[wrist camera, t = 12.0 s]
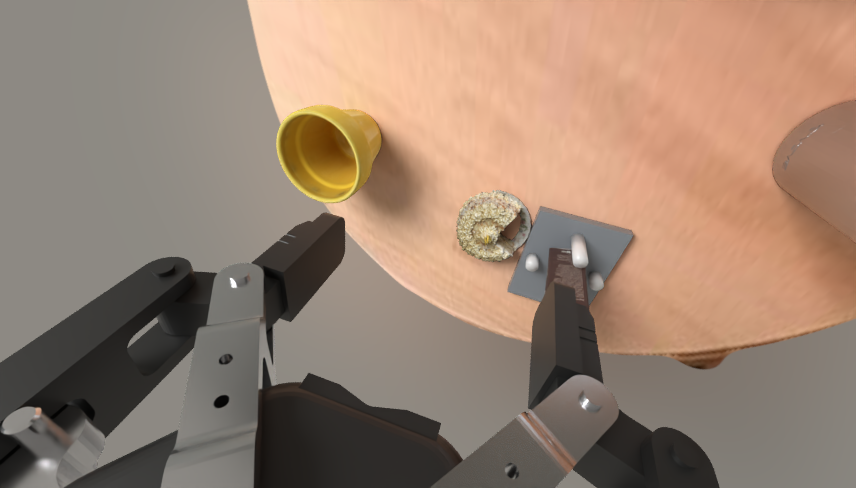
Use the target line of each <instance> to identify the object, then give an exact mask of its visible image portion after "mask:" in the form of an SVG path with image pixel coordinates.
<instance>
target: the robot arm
mask: <svg viewBox="0 0 856 488" xmlns="http://www.w3.org/2000/svg"><path fill="white" fill-rule="evenodd" d="M772 170H773V175H774V178H775V180H776V182H777V183H778V185H779V186H780V187H782V188H783V189H784V190H785V191H786V192H788V193H789V194H790V195H792V196H793V197H795V198H796V199H797V200H799V201H800V202H801V203H803V204H804V205H805V206H806V207H808V208H809V209H810V210H812V211H813V212H814V213H816V214H817V215H818V216H820V217H821V218H822V219H824V220H825V221H826V222H828V223H829V224H830V225H832V226H833V227H834V228H836V229H837V230H839V231H840V232H841V233H843V234H844V235H845V236H847V237H848V238H849V239H851V240H852V241H853V242H855V243H856V100H853V101H848V102H845V103H842V104H838V105H835V106H832V107H830V108H828V109H826V110H823V111H821V112H819V113H817V114H815V115H814V116H812V117H810V118H809V119H807V120H805V121H804V122H803V123H801V124H800V125H799V126H798V127H796V128H795V129H794V130H793V131H792V132H791V133H790V134H789V135H788V136H787V137H786V138H785V139H784V141H783V142H782V144H781V145H780V147H779V148H778V150H777V152H776V154H775V157H774V160H773V168H772ZM344 253H345V220H344V218H342V217H339V216H336V215H332V214H329V213H323V214H321V215H320V216H319V217H318V218H317V219H316V220H314V221H313V222H311V221H307V222H305V223H302V224H299V225H297V226H295V227H294V228H293V229H292V230H290V231H289V232H288V233H287V235H284V236H283V237H282V238H281V239H280V240H279V241H277V242H276V243H275V244H274V245H272V246H271V247H270V248H269V249H268V250H266V251H265V252H264V253H263V254H262V255H260V256H259V257H258V258H257V259H256V260H254V261H253V262H252V263H237V264H233V265H230V266H228V267H226V268H224V269H222V270H221V271H220V272H218V273H209V272H194V271H193V269H192V266H191V264H190V262H189V261H188V260H186V259H184V258H180V257H167V258H161V259H158V260H155V261H152V262H151V263H148V264H147V265H145V266H143V267H142V268H141V269H139V270H138V271H136V272H135V273H133V274H132V275H130V276H128V277H127V278H126V279H124V280H123V281H121V282H120V283H118V284H117V285H115V286H114V287H112V288H111V289H109V290H108V291H106V292H105V293H103V294H102V295H100V296H99V297H97V298H96V299H94V300H93V301H91V302H90V303H88V304H87V305H85V306H84V307H82V308H81V309H79V310H78V311H77V312H75V313H74V314H72V315H71V316H69V317H68V318H66V319H65V320H63V321H62V322H60V323H59V324H57V325H56V326H54V327H53V328H51V329H50V330H48V331H47V332H45V333H44V334H42V335H41V336H40V337H38V338H36V339H35V340H34V341H32V342H30V343H29V344H28V345H26V346H25V347H23V348H22V349H20V350H19V351H17V352H16V353H14V354H13V355H11V356H10V357H8V358H7V359H5V360H4V361H2V362H1V363H0V488H555V487H556V486H557V485H558V484H559V483H560V482H561V481H562V480H563V479H564V477H566V475H567V474H568V473H569V472H570V471H571V470H572V469H573V470H574V471H575V472H577V473H578V474H580V475H581V476H582V477H583V478H585V479H586V480H587V481H589V482H590V483H591V484H593V485H594V486H595V487H597V488H719V484H718V481H717V478H716V475H715V472H714V468H713V466H712V464H711V462H710V460H709V458H708V457H707V455H706V454H705V452H704V451H703V450H702V449H701V448H700V446H698V444H697V443H695V442H694V441H693V440H692V439H691V438H689V437H688V436H687V435H685V434H683V433H682V432H680V431H678V430H675V429H672V428H667V427H661V428H658V429H656V430H655V431H654V432H652V431H650V430H649V429H647V428H646V427H644V426H643V425H641V424H639V423H638V422H636V421H635V420H633V419H632V418H630V417H628V416H627V415H626V414H624V413H623V412H622V411H621V410H620V409H619V408H618V404H617V401H616V399H615V397H614V396H613V394H612V393H611V392H610V390H609V389H608V388H607V387H606V386H605V385H604V384H603V379H602V371H601V365H600V358H599V351H598V344H597V338H596V334H595V332H596V331H595V324H594V319H593V317H592V315H591V314H590V312H589V310H588V309H587V307H586V306H584V305H581V304H577V303H576V294H575V288H574V287H571V286H568V285H564V284H561V283H558V282H554V281H552V282H551V283H550V285H549V287H548V289H547V291H546V293H545V295H544V297H543V299H542V301H541V303H540V305H539V307H538V309H537V311H536V313H535V317H534V320H533V326H532V344H531V345H532V346H531V363H530V384H529V401H528V408H529V409H531V411H530V412H528V413H526V412H523V413H521V414H520V415H518V416H517V417H516V418H515V419H513V420H512V421H511V422H510V423H508V424H507V425H506V426H505V427H504V428H502V429H501V430H500V431H499V432H497V433H496V434H495V435H494V436H492V437H491V438H490V439H489V440H488V441H487V442H485V443H484V444H483V445H481V446H480V447H479V448H478V449H477V450H476V451H474V452H473V453H472V454H470V455H469V456H468V457H467V458H466V459H464V460H463V459H462V458H461V456H460V455H459V453H458V452H457V451H456V450H455V448H454V447H453V446H452V445H451V444H450V443H449V442H448V441H447V440H446V439H444V438H443V437H442V436H440V435H439V434H438V433H439V429H440V425H441V423H439V422H437V421H434V420H431V419H429V418H426V417H423V416H420V415H418V414H415V413H413V412H410V411H408V410H400V409H390V408H380V407H372V406H368V405H367V404H365V403H364V402H362V401H361V400H360V399H358V398H357V397H356V396H354V395H353V394H352V393H350V392H349V391H348V390H346V389H345V388H343V387H342V386H341V385H339V384H337V383H334V382H331V381H329V380H326V379H324V378H321V377H318V376H316V375H313V374H310V373H308V375H307V376H306V378H305V379H304V381H303V382H302V383H301V382H295V383H294V382H293V383H283V384H278V385H277V384H276V374H275V335H274V323H276V321H277V320H278V319H279V318H281V319H283V320H286V321H289V322H291V321H292V320H293V319H294V318H295V317H296V315H297V314H298V313H299V312H300V311H301V309H302V308H303V307H304V306H305V305H306V303H307V302H308V301H309V300H310V299H311V298H312V296H313V295H314V294H315V293H316V292H317V290H318V289H319V288H320V287H321V286H322V284H323V283H324V282H325V281H326V280H327V279H328V277H329V276H330V275H331V274H332V273H333V271H334V270H335V269H336V268H337V267H338V265H339V264H340V263H341V261H342V259H343V257H344ZM155 317H157V319H158V321H159V322H158V323H157V324H155V326H153V327H152V328H151V329H150V330H148V331H147V332H146V333H145V334H144V335H143V336H141V337H140V338H139V339H138V340H137V341H136V342H134V343H133V344H132V345H131V346H130V347H129V348H127V346H128V343H129V341H130V340H131V338H132V337H133V336H134V335H135V334H136V333H137V332H138V331H139V330H141V329H142V328H143V327H144V326H145V325H147V324H148V323H149V322H150V321H152V320H153V319H154V318H155ZM193 348H194V350H193V355H192V361H191V366H190V371H189V377H188V382H187V387H186V392H185V398H184V403H183V408H182V413H181V419H180V424H179V429H178V430H177V431H175V432H173V433H170V434H169V435H166V436H164V437H162V438H160V439H158V440H156V441H154V442H152V443H150V444H148V445H146V446H144V447H141V448H139V449H137V450H135V451H133V452H131V453H129V454H127V455H125V456H123V457H121V458H119V459H116V460H115V461H112V462H110V463H108V464H106V465H104V466H102V467H100V468H98V469H96V468H97V465H98V463H97V460H98V458H99V456H100V455H101V453H102V451H103V449H104V445H105V438H106V437H107V436H108V435H109V434H110V433H111V432H112V431H113V430H114V429H115V428H116V427H117V426H118V425H119V424H120V422H122V421H123V419H125V418H126V417H127V415H129V413H130V412H131V411H132V410H133V409H134V408H135V407H136V406H137V405H138V404H139V403H140V402H141V401H142V400H143V399H144V398H145V397H146V396H147V395H148V394H149V393H150V392H151V391H152V390H153V389H154V388H155V387H156V386H157V385H158V384H159V383H160V382H161V381H162V380H163V379H164V378H165V377H166V376H167V375H168V374H169V372H171V371H172V369H173V368H174V367H175V366H176V365H177V364H178V363H179V362H180V361H181V360H182V359H183V358H184V357H185V356H186V355H187V354H188V353H189V352H190V351H191V350H192V349H193Z"/></svg>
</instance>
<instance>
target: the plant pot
mask: <svg viewBox="0 0 856 488" xmlns="http://www.w3.org/2000/svg"><path fill="white" fill-rule="evenodd" d="M276 143H277V144H276V146H277V154H278V158H279V161H280V163H281V166H282V168H283V170H284V172H285V173H286V175H287V176H288V178H289V179H290V181H291V182H292V183H293V184H294V185H295V186H296V187H297V188H298V189H299V190H300V191H301V192H302V193H304V194H305V195H307V196H309V197H310V198H312V199H314V200H317V201H320V202H324V203H338V202H342V201H344V200H346V199H348V198H349V197H351V196H352V195H353V194H354V193H356V192H357V191H358V190H359V189H360V188H361V187H362V186H363V185H364V184H365V182H366V181H367V179H368V178H369V176H370V173H371V169H372V163H373V161H374V159H375V158H376V156H377V154H378V153H379V151H380V148H381V133H380V130H379V128H378V126H377V124H376V122H375V121H374V120H373V119H372V118H371V117H370V116H369V115H368V114H366V113H364V112H362V111H359V110H341V109H339V108H336V107H333V106H329V105H316V106H311V107H307V108H304V109H301V110H298V111H296V112H294V113H292V114H290V115H289V116H288V117H287V118H285V120H284V121H283V122H282V124H281V125H280V127H279V130H278V134H277V141H276Z"/></svg>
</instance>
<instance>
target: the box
mask: <svg viewBox="0 0 856 488" xmlns="http://www.w3.org/2000/svg"><path fill="white" fill-rule="evenodd" d="M552 281H554V282H558V283H561V284H564V285H568V286H571V287H574V288H575V294H576V303H577V304H581V305H584V306H586V307H587V309H588V310H589V302H588V291H587V279H586V268H585V267H584V268H577V267H575V266H574V265H573V259H572V249H569V248H549V257H548V268H547V277H546V287H545V293H546V291H547V289H548V287H549V285H550V283H551V282H552Z"/></svg>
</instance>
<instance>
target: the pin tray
mask: <svg viewBox="0 0 856 488" xmlns="http://www.w3.org/2000/svg"><path fill="white" fill-rule="evenodd" d="M632 237H633V233H632V231H631V230H628V229H624V228H620V227H616V226H613V225H609V224H605V223H601V222H598V221H594V220H590V219H587V218H583V217H579V216H575V215H572V214H568V213H564V212H560V211H557V210H553V209H549V208H545V207H542V206H540V208H539V210H538V213H537V215H536V218H535V220H534V223H533V225H532V228H531V230H530V233H529V236H528V238H527V241H526V243H525V246H524V248H523V251H522V253H521V256H520V258H519V261H518V263H517V266H516V268H515V271H514V273H513V276H512V278H511V281H510V283H509V286H508V291H507V292H510V293H514V294H517V295H520V296H523V297H526V298H530V299H533V300H536V301H539V302H541V301H542V299H543V297H544V295H545V287H546V277H547V268H548V257H549V248H569V249H572V259H573V265H574V266H575V267H577V268H584V267H585V268H586V279H587V291H588V302H589V305H590V304H591V302H592V301H593V299H594V298H595V296H596V294H597V293H598V291H599V290H601V289H603V287H604V284H603V283H604V282H605V280H606V278H607V277H608V275H609V274H610V272H611V270H612V269H613V267H614V266H615V264H616V263H617V261H618V259H619V258H620V256H621V255H622V253H623V251H624V250H625V248H626V247H627V245H628V243H629V242H630V240H631V239H632Z"/></svg>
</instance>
